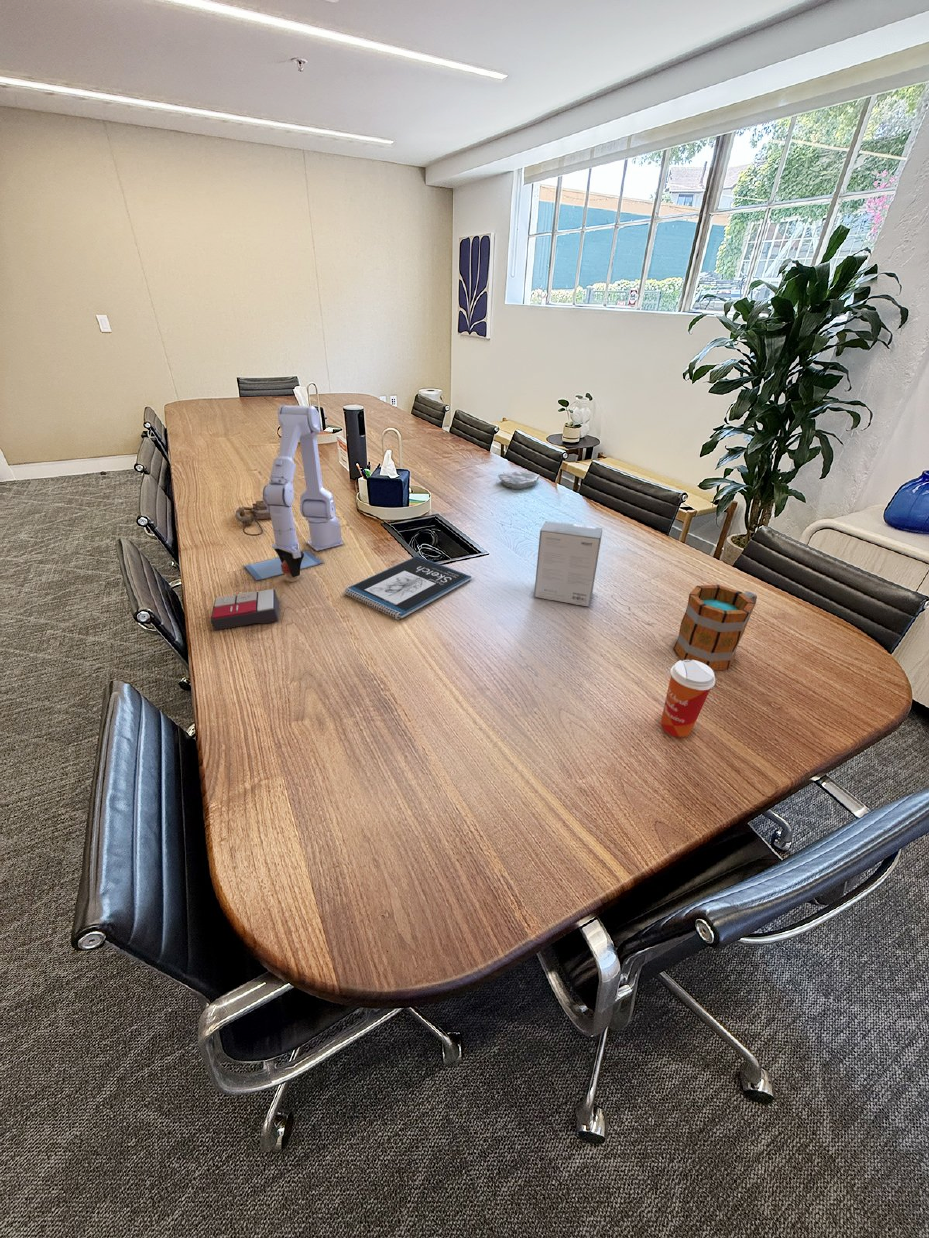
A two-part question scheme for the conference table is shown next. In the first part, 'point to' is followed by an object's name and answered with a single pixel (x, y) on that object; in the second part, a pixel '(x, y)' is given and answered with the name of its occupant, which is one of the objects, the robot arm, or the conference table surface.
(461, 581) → the sketchbook
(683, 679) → the paper cup
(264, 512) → the telephone
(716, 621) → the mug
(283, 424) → the robot arm
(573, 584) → the hard drive box
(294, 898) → the conference table surface
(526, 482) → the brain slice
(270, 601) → the grey and red box
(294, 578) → the mushroom
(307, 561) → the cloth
